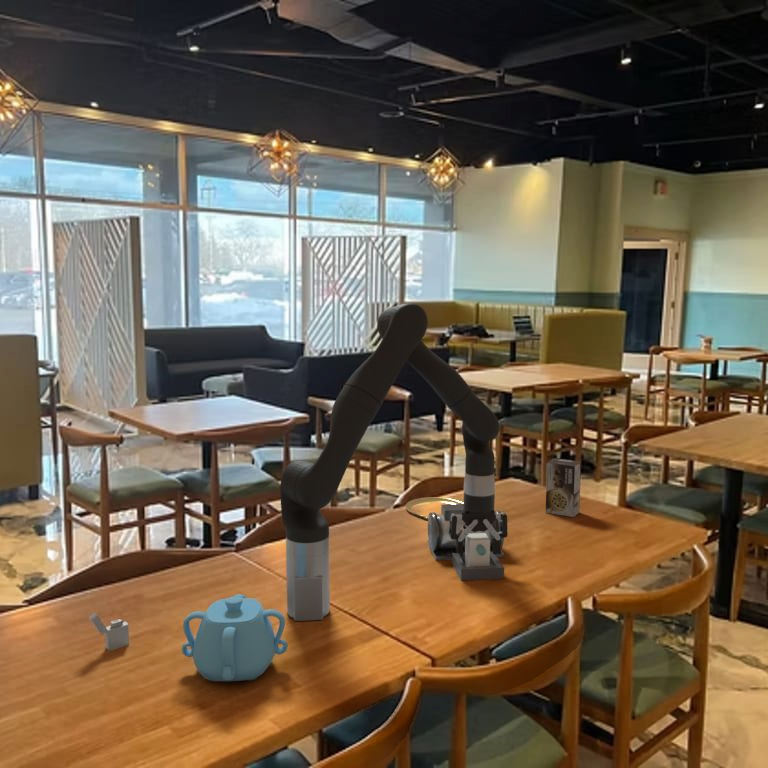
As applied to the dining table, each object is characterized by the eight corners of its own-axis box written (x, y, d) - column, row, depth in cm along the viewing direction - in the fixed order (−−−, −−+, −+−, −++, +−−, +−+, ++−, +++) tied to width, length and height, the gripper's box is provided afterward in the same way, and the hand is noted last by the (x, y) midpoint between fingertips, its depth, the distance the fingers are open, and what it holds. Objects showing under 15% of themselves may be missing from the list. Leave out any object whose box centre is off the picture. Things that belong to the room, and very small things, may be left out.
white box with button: (491, 574, 183) (492, 543, 181) (471, 575, 182) (472, 544, 181) (484, 563, 190) (485, 533, 188) (464, 564, 189) (465, 533, 188)
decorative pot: (175, 666, 142) (172, 597, 140) (248, 638, 153) (247, 574, 150) (219, 702, 130) (216, 628, 128) (295, 669, 141) (294, 601, 138)
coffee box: (580, 512, 233) (582, 461, 230) (573, 517, 227) (575, 465, 225) (551, 507, 238) (553, 457, 235) (544, 512, 232) (546, 461, 230)
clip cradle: (503, 578, 182) (504, 567, 182) (460, 580, 181) (461, 569, 181) (489, 557, 196) (490, 547, 195) (449, 559, 194) (449, 549, 194)
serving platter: (473, 540, 209) (473, 535, 209) (393, 509, 236) (393, 504, 236) (518, 526, 221) (518, 521, 221) (437, 498, 248) (437, 493, 248)
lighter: (126, 641, 151) (124, 603, 150) (129, 644, 150) (127, 606, 148) (90, 652, 146) (88, 613, 145) (93, 656, 145) (91, 617, 144)
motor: (504, 557, 196) (505, 512, 194) (434, 560, 194) (435, 515, 192) (492, 541, 208) (493, 498, 206) (426, 543, 206) (427, 501, 204)
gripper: (453, 496, 179) (452, 561, 182) (512, 494, 181) (510, 558, 183) (447, 487, 187) (446, 549, 189) (503, 485, 188) (501, 547, 191)
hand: (477, 554), depth 186 cm, fingers open, 8 cm apart
